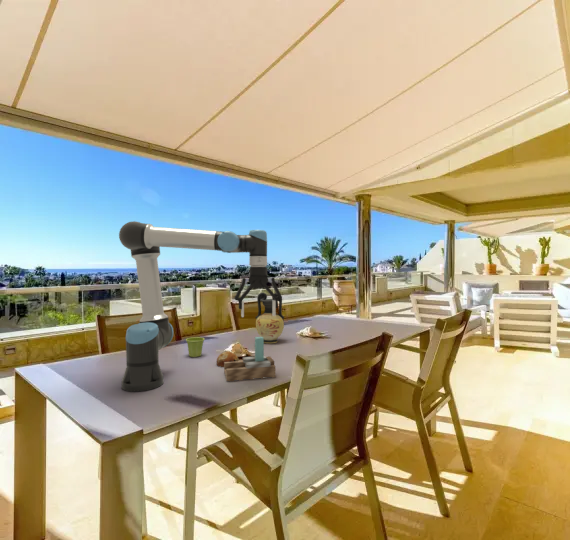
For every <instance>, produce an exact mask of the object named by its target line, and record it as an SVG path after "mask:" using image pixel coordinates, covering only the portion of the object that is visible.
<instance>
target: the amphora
mask: <svg viewBox="0 0 570 540" xmlns="http://www.w3.org/2000/svg"><path fill="white" fill-rule="evenodd" d="M273 293H274V294H275V296H276V297H278V296H277V294H276V292H273ZM271 297H272V296H271ZM256 299H257V301H256V302H257V307H258V308H257V310H258V311H257V316H255V319H256V320H255V327H256V328H255V329H256V331H257V334H258V335H259V337H263V338H264V344H276V343H278V338H279V337H280V336H282V334H283V331H284V327H285V322H284V321H285V320H284V319H285V316H284V315H283V313H282V312H283V311H282V309H283V298H282V299H279V300H278V313H276V316H273V315H272V300H274V299H273V297H272V298H268V295H267V294H266V293H265V292H260V293H258V295H257V298H256ZM261 302H262V303H261ZM261 305H263V306H264V312H263V313H262V306H261Z"/></svg>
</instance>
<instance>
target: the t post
mask: <svg viewBox="0 0 570 540" xmlns="http://www.w3.org/2000/svg"><path fill="white" fill-rule="evenodd" d="M264 350H265V343H264V338H263V337H261V336H255V337H254V356H255V362H256V361H264V356H265V353H264Z"/></svg>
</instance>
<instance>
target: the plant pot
mask: <svg viewBox="0 0 570 540" xmlns="http://www.w3.org/2000/svg"><path fill="white" fill-rule="evenodd" d="M185 341H186V343H187V351H188V357H190V358H197V357H201V356H202V352H203V347H204V346H203V345H204V341H205V338H204V337H200V336H199V337H198V336H195V337H188V338H186V339H185Z"/></svg>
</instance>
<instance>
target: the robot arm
mask: <svg viewBox="0 0 570 540" xmlns="http://www.w3.org/2000/svg"><path fill="white" fill-rule="evenodd" d="M118 237H119V241H120V243H121V244H122V246H123V247H125V248H126V249H128V250H130V255H131V256H130V257H131V258H133V259H134V260H135V264H136V271H137V272H136V273H137V279H138V280H137V281H138V289H139V296H140V305H141V312H142V317H141V318H140V319H139V323H135V324H131V325H130V326H129V327H128V328H127V329H126V333H125V348H126V349H125V353H126V355H125V357H126V358H125V359H126V363H125V365H126V367H125V370H124V373H123V377H122V379H121V389H122V390H124V391H127V392H143V391H144V392H145V391H149V390H154V389H157V388H159V387H160V386H162V385H163V384H164V374H163V372H162V369H161V366H160V364H159V362H160V361H159V357H160V356H159V351H160V350H162V349H164V348H166V347H167V346H168V345H169V344H170V343H171V342H172V340H173V337H174V327H173V325H172V324H171V323H170V321H169V315H167V314H166V313H165V312H164V303H163V297H162V296H163V295H162V286H161V279H160V272H159V271H160V270H159V269H160V268H159V263H158V258H159V256H160V255H161V248H172V249H178V248H179V249H190V250H191V249H192V250H204V251H205V250H206V251H208V250H209V251H219V252H222V253H227V254H231V253H233V254H234V253H235V254H236V253H237V254H238V253H239V254H240V253H247V254H248V253H249V254H248V255H249V266H250V267H249V268H248V269H249V274H248V275H249V277H248V278H247V277H246V278H245V277H242V278H241V283H240V285H239V287H238V289H237V292H236V294H235V295H234V297H233V299H234V300H235V301H237V302H238V309H239V310H240V315H241V316H240V317H241V318H244V317H245V302H244V299H245V297H247V295H248V294H249V293H250V292H251V291H252V290H253V289H265V291H267V293H268V294H269V295H270V297H273V299H274V300H272V315H273V316H276V314H277V312H276V311H277V310H276V309H278V308H279V301H278V300H279V299H282V300H283V296H282V294H281V292H280V290H279V288H278V286H277V284H276V279H275V277H270V278H268V267H267V266H268V233H267V231H266V230H264V229H250V230H249V232H248V234H237V233H236V232H233V231H230V230H225V231H218V230H204V229H191V228H190V229H189V228H175V227H164V226H163V227H160V226H154V225H153V224H151V223H142V222H140V221H136V220H134V221H129V222H127V223H124V224H123V225H122V226H121V228H120V229H119V233H118ZM160 247H161V248H160ZM268 282H269V283H271V286H272V288H273V290H274V292H273V291H272V290H271V288H269V286H268V285H267V284H268ZM247 283H249V284H250V285H249V286H248V287H247V288H246V289H245V290H244V287H245V284H247ZM243 290H244V291H243ZM242 292H243V293H242ZM241 293H242V294H241ZM274 293H276V294H277V296H278V297H276V296H275V294H274ZM240 295H241V296H240Z"/></svg>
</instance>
